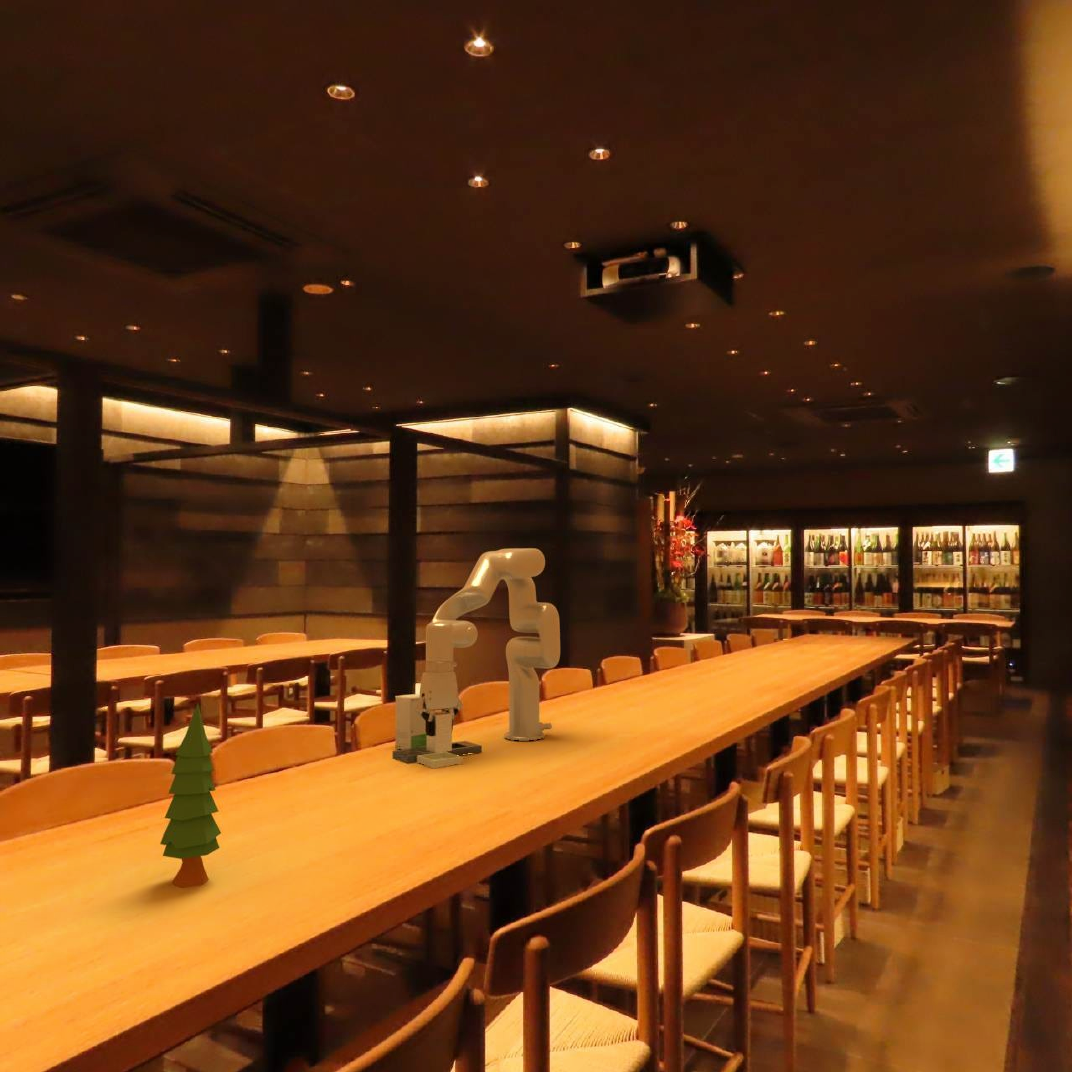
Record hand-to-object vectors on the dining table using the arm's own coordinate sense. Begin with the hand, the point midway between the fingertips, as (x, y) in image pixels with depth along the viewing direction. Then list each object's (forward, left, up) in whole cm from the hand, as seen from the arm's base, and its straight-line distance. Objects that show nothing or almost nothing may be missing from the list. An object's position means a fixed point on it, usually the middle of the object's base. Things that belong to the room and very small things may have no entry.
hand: (439, 733), depth 244 cm
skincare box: (-4, -23, -8) cm, 25 cm away
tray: (0, 0, -8) cm, 8 cm away
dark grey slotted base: (-5, -10, -8) cm, 13 cm away
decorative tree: (+81, +55, -8) cm, 98 cm away
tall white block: (0, 0, -4) cm, 4 cm away
